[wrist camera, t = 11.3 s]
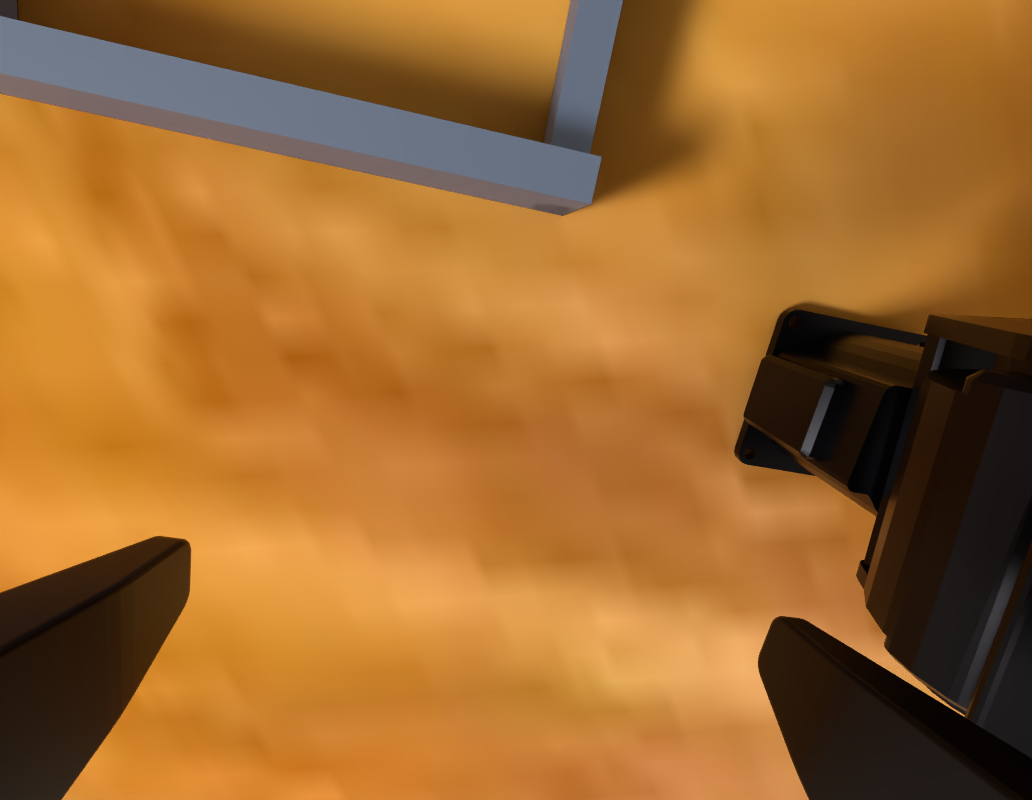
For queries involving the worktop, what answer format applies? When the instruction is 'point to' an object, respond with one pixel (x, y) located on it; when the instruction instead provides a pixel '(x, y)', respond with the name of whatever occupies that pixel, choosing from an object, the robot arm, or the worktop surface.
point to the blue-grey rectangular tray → (330, 112)
